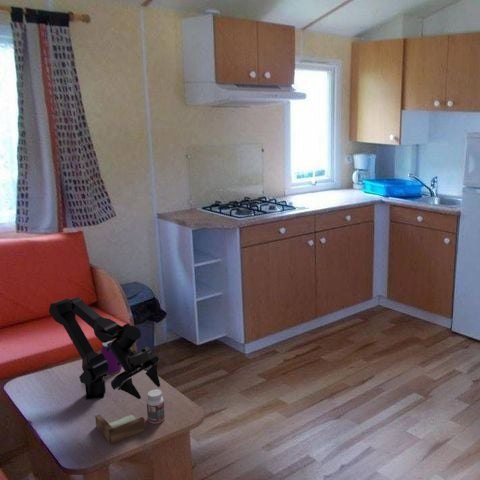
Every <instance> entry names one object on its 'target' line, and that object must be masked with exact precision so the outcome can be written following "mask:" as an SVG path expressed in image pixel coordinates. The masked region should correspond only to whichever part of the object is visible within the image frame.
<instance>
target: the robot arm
mask: <svg viewBox="0 0 480 480" xmlns="http://www.w3.org/2000/svg"><path fill="white" fill-rule="evenodd" d="M48 312H49V315H50V317H52V319H54V320H53V321H55V322H56V323H58V324H59V325H62V326H63V328H64V330H65V332H66V334H67V335H68V337H69V339H70V340H71V342H72V344H73V345H74V347H75V349H76V351H77V352H78V355H79V356H80V358H81V360H82V361H81V369H82V371H83V372H82V373H81V374H80V376H79V381H80V383H81V384H84V386H85V388H84V389H85V400H93V399H101V398H105V394H106V391H107V388H106V387H107V386H106V379H104V378H105V377H107V376H108V374H107V373H108V368H109V365H108V363H107V362H108V361H107V360H106V359H105V357H104V355H103V354H102V353H101V352H100V353H97V352H96V351H95V349H94V348H93V346H92V344H91V343H90V341H89V339H88V338H87V335H85V333H84V331H83V329H82V327H81V325H80V324H79V322H78V321H77V318H76V316H77V317H78V318H80V319H81V320H82V321H83V322H84V323H86V324H87V325H88V326H90V328H92V330H93V333H94V336H95V337H96V338H97V339H98V340H99V341H100V342H102V343H106V342H108V341H111V340H113V342H110V343H108V344H107V352H109V351H112V353H113V354H114V356H115V357H116V358H117V360H118V361H119V362H118V363H117V364H118V366H120V365H121V366H122V369H123V371H122V372H121V373H119V374H116V375H115V376H114V378H113V379H112V380H111V381H110V386H111V388H112V389H113V390H114V391H115V390H117V391H120V390H121V391H123V392H125V393H126V394H129V395H130V396H133V397H134V398H136V399H138V400H140V399H142V397H141V394H140V393H139V390H137V388H136V386H135V385H134V384H133V378H132V377H134V376H135V375H138V374H139V373H141V372H143V371H144V372H145V373H144V374H145V375H146V376H147V377H148V379H150V381H152V383H153V384H154V385H155V386H157V387H158V388H160V387H161V383H160V382H161V381H160V379H159V374H158V366H159V362H160V361H161V360H160V358H159V356H158V355H155V354H153V353H152V350H151V349H150V348H149V346H146V347H143V348H142V349H141V352H137V351H136V350H132V347H134V345H136V343H137V342H138V341H139V339H140V338H141V337H142V332H141V331H140V330H141V329H139V328H138V327H136V326H134V325H131V324H130V323H129V322H128V323H125V324H123V326H122V325H120V324H119V323H118V322H116V321H114V320H113V319H111V318H108V317H103V316H101V315H100V314H99V313H98V312H96V311H95V310H94V309H93V308H91V307H90V306H89V305H88V304H87V303H85V301H83V299H82V298H81V297H80V296H76V297H73V298H67V297H65V298H62V299H60V300H58V301H55V302H52V303H51V304H50V305H49V308H48Z"/></svg>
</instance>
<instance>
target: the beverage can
mask: <svg viewBox="0 0 480 480" xmlns="http://www.w3.org/2000/svg"><path fill="white" fill-rule="evenodd" d="M113 340H114V339H113ZM113 340H111V341H108V342H106V343H103V342H102V344H101V348H100V353H102V354H103V355H104V357H105V359H106V360H107V361H108V362H107V363H108V365H109V368H108V373H107V375H113V374H116V373H119V372H120V371H121V370H122V369H123V367H122V366H121V365H120V366H118V364H117V363H118V362H119V361H118V360H117V358H116V357H115V356H114V354H113V353H112V351H109V352H107V344H108V343H110V342H113Z"/></svg>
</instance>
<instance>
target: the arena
mask: <svg viewBox="0 0 480 480" xmlns="http://www.w3.org/2000/svg"><path fill="white" fill-rule="evenodd" d="M94 419H95V426H96V428H97V429H98V430H99V432H100V433H101V434H102V435H103V437H105V439H107V441H108V442H109V443H110V444H111V445H113V444H115V443H117V442H120V441H122V440H124V439H125V440H126V439H127V438H130V437H131V436H134V435H136V434H137V435H138V434H139V433H142V432H143V431H146V420H145V418H144V416H141V417H139V418H137V417H135V416H134V415H133V414H130V415H127V416H125V417H122V418H120V419H117V420H114V421H112V422H108V421H107V420H106V419H105V418H104V417H103V416H102V415H101V414H97V415H95V416H94Z"/></svg>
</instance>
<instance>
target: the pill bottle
mask: <svg viewBox="0 0 480 480" xmlns="http://www.w3.org/2000/svg"><path fill="white" fill-rule="evenodd" d="M164 401H165V400H164V398H163V394H162V390H161V389H151V390H149V391H148V392H147V399H146V413H147V415H146V416H147V421H148V422H149V423H151V424H153V425H154V424H160V423H161V422H164V421H165V417H166V416H165V402H164Z"/></svg>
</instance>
